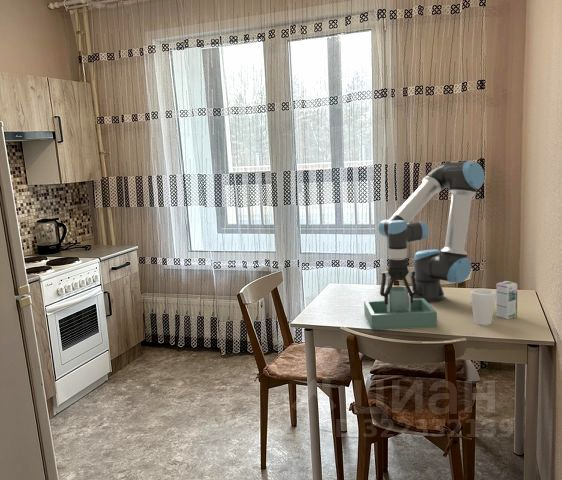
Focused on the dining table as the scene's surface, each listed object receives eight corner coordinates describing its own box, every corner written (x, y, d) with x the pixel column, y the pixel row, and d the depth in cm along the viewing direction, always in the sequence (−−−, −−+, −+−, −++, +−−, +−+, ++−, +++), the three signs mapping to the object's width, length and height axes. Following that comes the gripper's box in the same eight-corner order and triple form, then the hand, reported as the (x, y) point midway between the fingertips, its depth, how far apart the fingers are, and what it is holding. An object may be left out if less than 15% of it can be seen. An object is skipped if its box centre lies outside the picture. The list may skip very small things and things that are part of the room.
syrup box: (507, 319, 205) (508, 285, 203) (495, 316, 210) (496, 282, 208) (517, 317, 208) (518, 282, 205) (505, 313, 213) (505, 280, 211)
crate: (423, 311, 222) (423, 298, 221) (436, 326, 202) (436, 312, 201) (364, 314, 222) (364, 301, 221) (371, 329, 203) (371, 315, 202)
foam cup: (494, 319, 206) (495, 288, 204) (496, 327, 198) (496, 295, 195) (469, 318, 209) (470, 288, 207) (470, 325, 201) (470, 294, 199)
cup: (389, 314, 209) (388, 291, 207) (389, 308, 216) (388, 286, 214) (408, 314, 207) (408, 291, 205) (407, 309, 214) (407, 286, 213)
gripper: (420, 255, 211) (421, 307, 215) (371, 257, 212) (372, 309, 215) (425, 258, 204) (425, 312, 208) (374, 261, 204) (375, 315, 208)
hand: (398, 311), depth 212 cm, fingers closed on cup, 8 cm apart
